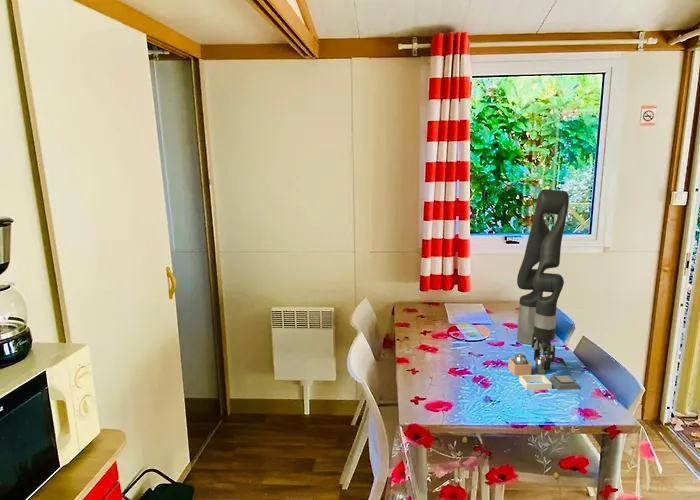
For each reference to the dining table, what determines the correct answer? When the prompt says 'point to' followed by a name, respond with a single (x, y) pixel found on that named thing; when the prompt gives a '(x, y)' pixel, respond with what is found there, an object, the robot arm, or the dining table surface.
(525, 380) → the trough
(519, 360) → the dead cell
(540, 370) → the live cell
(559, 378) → the plate
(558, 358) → the dark grey curved blade
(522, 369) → the tan open box
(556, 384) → the grey square pedestal
